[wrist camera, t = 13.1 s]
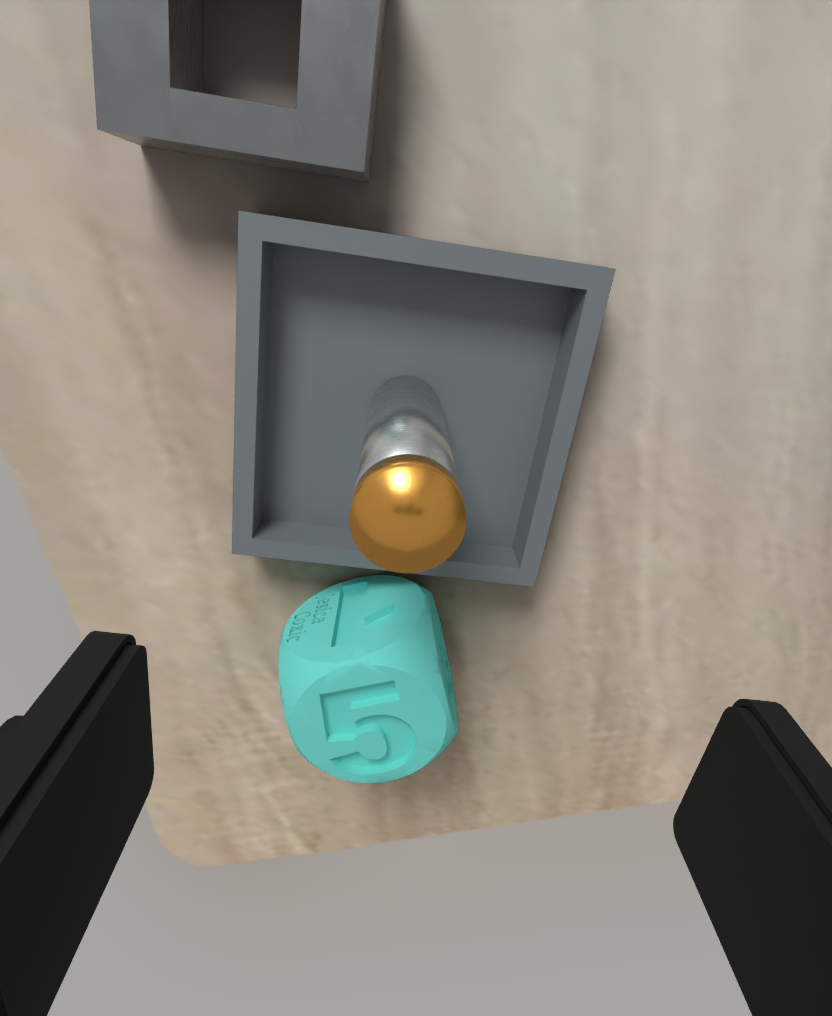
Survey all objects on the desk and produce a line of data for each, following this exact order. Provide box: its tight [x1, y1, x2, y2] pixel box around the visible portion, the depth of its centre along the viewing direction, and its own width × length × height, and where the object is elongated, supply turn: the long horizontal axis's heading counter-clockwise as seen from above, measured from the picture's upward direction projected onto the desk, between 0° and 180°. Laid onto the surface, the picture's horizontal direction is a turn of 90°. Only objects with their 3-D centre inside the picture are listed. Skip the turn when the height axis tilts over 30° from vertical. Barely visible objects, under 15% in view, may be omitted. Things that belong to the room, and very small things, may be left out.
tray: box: [232, 211, 615, 587], centre depth 30 cm, size 16×16×3 cm
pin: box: [349, 375, 466, 573], centre depth 24 cm, size 4×4×13 cm
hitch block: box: [89, 0, 386, 182], centre depth 23 cm, size 10×8×4 cm
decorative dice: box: [279, 575, 458, 783], centre depth 33 cm, size 8×8×8 cm
